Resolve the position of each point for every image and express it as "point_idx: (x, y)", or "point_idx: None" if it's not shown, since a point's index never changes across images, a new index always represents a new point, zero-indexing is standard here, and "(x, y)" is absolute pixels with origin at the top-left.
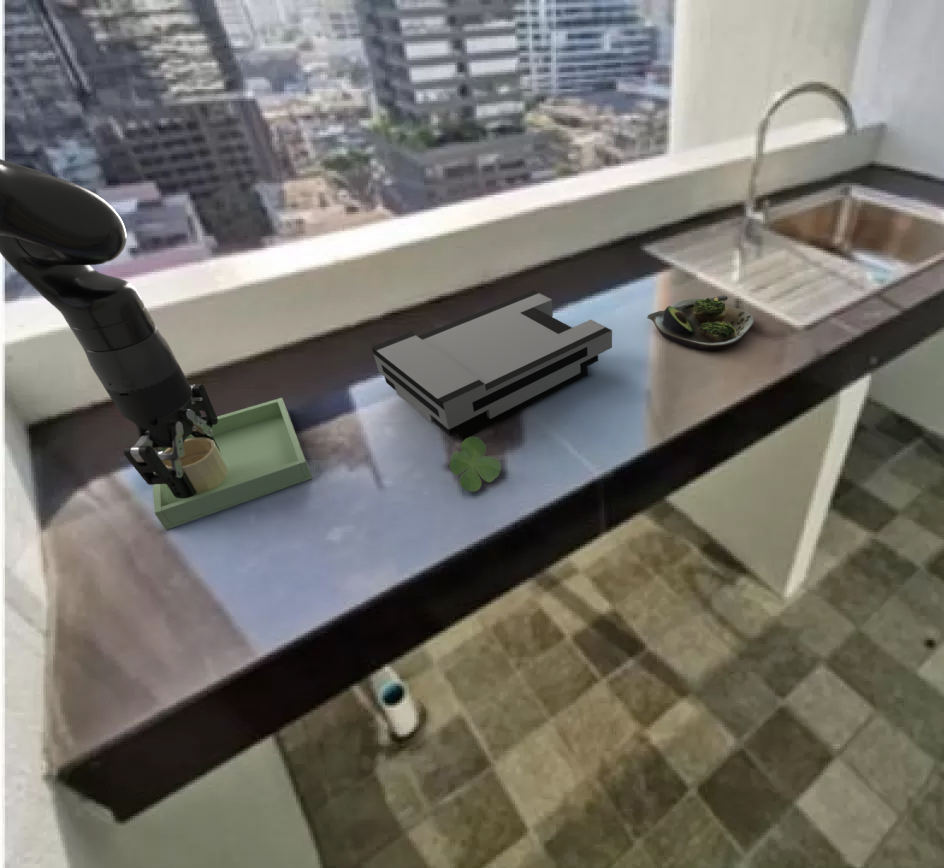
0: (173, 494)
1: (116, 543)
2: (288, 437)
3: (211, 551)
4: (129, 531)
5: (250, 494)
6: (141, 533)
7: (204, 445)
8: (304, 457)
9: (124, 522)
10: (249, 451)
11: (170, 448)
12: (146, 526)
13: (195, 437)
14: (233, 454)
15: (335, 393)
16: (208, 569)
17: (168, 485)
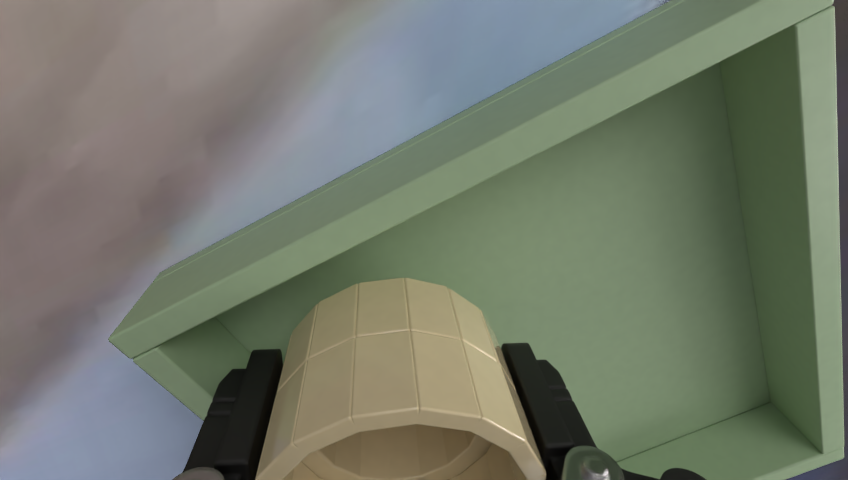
0: (215, 393)
1: (34, 101)
2: (623, 453)
3: (100, 436)
4: (122, 123)
5: None
6: (123, 184)
7: (506, 475)
8: None
9: (174, 63)
10: (580, 381)
11: (457, 426)
12: (167, 184)
13: (554, 475)
14: (577, 340)
15: (824, 469)
16: (29, 456)
17: (196, 446)
